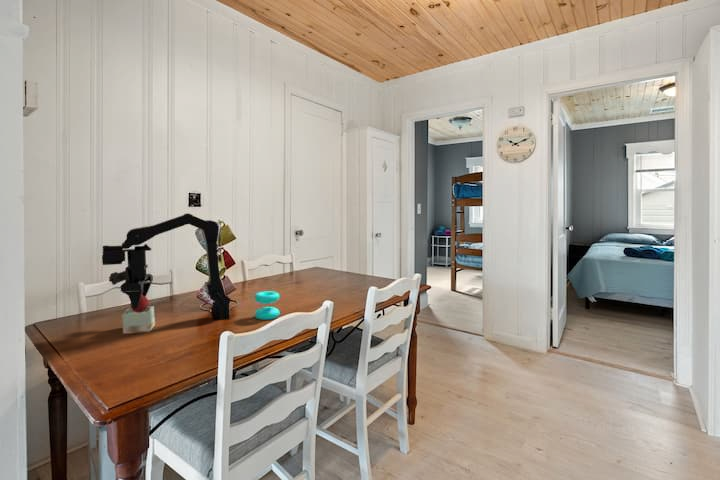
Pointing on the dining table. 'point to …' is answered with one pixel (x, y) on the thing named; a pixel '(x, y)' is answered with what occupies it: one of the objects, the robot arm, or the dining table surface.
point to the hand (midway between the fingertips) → (138, 305)
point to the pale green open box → (138, 317)
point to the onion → (141, 305)
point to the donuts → (267, 312)
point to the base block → (139, 328)
